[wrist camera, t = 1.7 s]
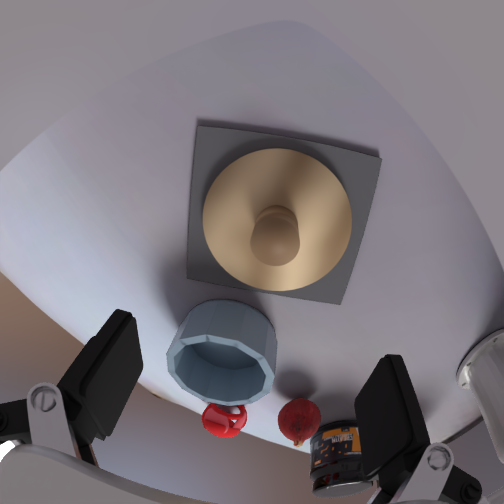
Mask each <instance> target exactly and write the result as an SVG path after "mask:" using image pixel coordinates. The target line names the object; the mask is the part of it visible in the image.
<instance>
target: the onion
mask: <svg viewBox="0 0 504 504" xmlns="http://www.w3.org/2000/svg"><path fill="white" fill-rule="evenodd" d="M320 422H321V415H320V411H319V409H318V407H317V406H316V405H315V404H314V403H313V402H311V401H310V400H308V399H304V398H297V399H294V400H292V401H290V402H289V403H287V404H285V406H284V407H283V408H282V409H281V411H280V412H279V415H278V425H279V429H280V431H281V432H282V433H283V435H284V436H285V437H287V438H288V439H290V440H292V441H294V446H296V447H300V446H302V444H303V442H304V441H305V440H306V439H308V438H310V437H311V436H312V435H314V434H315V433H316V431H317V430H318V428H319V425H320Z"/></svg>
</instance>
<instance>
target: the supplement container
mask: <svg viewBox="0 0 504 504" xmlns="http://www.w3.org/2000/svg"><path fill="white" fill-rule="evenodd" d="M310 445H311V465H310V469H311V471H310V479H311V480H312V481H313V482H314V483H313V490H312V493H313V495H315V496H317V497H321V498H338V497H345V496H351V495H355V494H358V493H361V492H364V491H366V490H368V489H369V488H371V487H372V486H373V481H368V480H367V476H366V475H364V472H363V464H362V455H361V447H360V440H359V433H358V426H357V422H355V421H341V422H335V423H331V424H328V425H326V426H323V427H321V428H320V429H318V430H317V431H316V433H315V434H314V435H312V436H311V439H310Z"/></svg>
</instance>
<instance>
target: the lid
mask: <svg viewBox="0 0 504 504" xmlns="http://www.w3.org/2000/svg"><path fill="white" fill-rule="evenodd" d="M203 229H204V235H205V238H206V242H207V244H208V246H209V249H210V251H211V252H212V254H213V256H214V257H215V259H216V260H217V262H218V263H219V264H220V265H221V266H222V267H223V268H224V269H225V270H226V271H227V272H228V273H229V274H230V275H232V276H233V277H235V278H236V279H238V280H239V281H241V282H243V283H245V284H247V285H250V286H253V287H255V288H259V289H264V290H271V291H286V290H293V289H298V288H302V287H304V286H307V285H310V284H312V283H314V282H316V281H317V280H319V279H320V278H322V277H323V276H325V275H326V274H327V273H328V272H330V271H331V270H332V269H333V268H334V266H335V265H336V264H337V263H338V262H339V260H340V259H341V257H342V256H343V254H344V252H345V250H346V248H347V245H348V242H349V239H350V235H351V229H352V214H351V208H350V203H349V200H348V197H347V194H346V192H345V190H344V188H343V187H342V185H341V183H340V182H339V180H338V179H337V178H336V176H335V175H334V174H333V173H332V172H331V171H330V170H329V169H328V168H327V167H326V166H324V165H323V164H322V163H320V162H319V161H318V160H316V159H314V158H312V157H311V156H309V155H306V154H304V153H301V152H298V151H294V150H290V149H281V148H273V149H264V150H259V151H255V152H252V153H249V154H247V155H245V156H243V157H241V158H239V159H237V160H236V161H234V162H233V163H231V164H230V165H229V166H228V167H226V168H225V169H224V170H223V171H222V172H221V173H220V174H219V176H218V177H217V178H216V179H215V181H214V182H213V184H212V186H211V187H210V189H209V192H208V194H207V196H206V200H205V203H204V209H203Z"/></svg>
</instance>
